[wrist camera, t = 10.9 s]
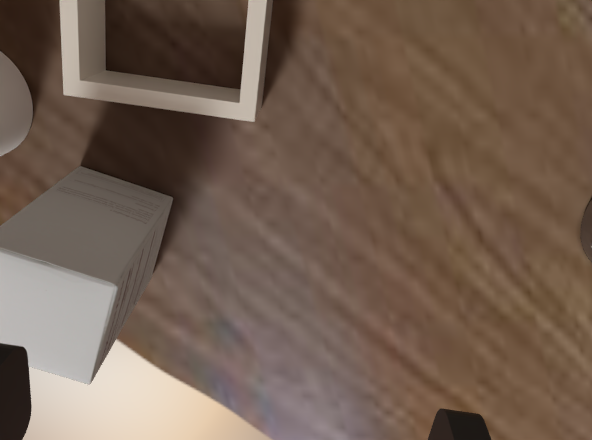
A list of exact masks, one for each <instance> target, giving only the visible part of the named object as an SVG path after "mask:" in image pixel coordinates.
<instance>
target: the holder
mask: <svg viewBox="0 0 592 440" xmlns="http://www.w3.org/2000/svg"><path fill="white" fill-rule="evenodd" d="M272 6H273V0H249V3H248V14H247V25H246V36H245V47H244V59H243V70H242V81H241V90H240V89H233V88H226V87H219V86H212V85H205V84H198V83H191V82H184V81H177V80H170V79H163V78H156V77H149V76H142V75H135V74H128V73H121V72H114V71H107V70H106V41H105V0H60V22H61V45H62V68H63V91H64V95H68V96H75V97H82V98H89V99H96V100H103V101H110V102H118V103H125V104H132V105H139V106H146V107H153V108H160V109H167V110H174V111H181V112H188V113H195V114H202V115H209V116H216V117H223V118H230V119H237V120H245V121H252V122H255V120H256V118H257V116H258V114H259V112H260V110H261V108H262V99H263V90H264V81H265V71H266V62H267V52H268V43H269V34H270V24H271V15H272Z"/></svg>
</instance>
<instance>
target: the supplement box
mask: <svg viewBox="0 0 592 440" xmlns="http://www.w3.org/2000/svg"><path fill="white" fill-rule="evenodd" d="M172 201H173V197H171V196H168V195H165V194H162V193H159V192H156V191H153V190H150V189H147V188H144V187H141V186H138V185H135V184H132V183H129V182H126V181H123V180H121V179H118V178H115V177H112V176H109V175H106V174H103V173H100V172H97V171H94V170H91V169H88V168H85V167H82V166H79V167H78V168H76V169H75V170H74V171H72V172H71V173H70V174H68V175H67V176H66V177H64V178H63V179H62V180H61V181H59V182H58V183H57V184H55V185H54V186H53V187H51V188H50V189H49V190H47V191H46V192H45V193H43V194H42V195H41V196H39V197H38V198H37V199H35V200H34V201H33V202H31V203H30V204H29V205H27V206H26V207H25V208H24V209H22V210H21V211H20V212H18V213H17V214H16V215H14V216H13V217H12V218H10V219H9V220H8V221H6V222H5V223H4V224H2V225H1V226H0V343H3V344H10V345H16V346H22V347H24V348H25V349H26V351H27V355H28V366H29V367H32V368H36V369H39V370H42V371H46V372H49V373H52V374H56V375H59V376H62V377H66V378H69V379H72V380H76V381H79V382H83V383H85V384H91V382H92V381H93V379H94V377H95V375H96V373H97V372H98V370H99V368H100V366H101V365H102V363H103V361H104V359H105V358H106V356H107V354H108V353H109V351H110V349H111V347H112V345H113V343H114V342H115V340H116V338H117V336H118V335H119V333H120V331H121V329H122V327H123V326H124V324H125V322H126V321H127V319H128V317H129V315H130V314H131V312H132V310H133V309H134V307H135V305H136V304H137V302H138V300H139V298H140V297H141V295H142V293H143V292H144V290H145V288H146V287H147V285H148V283H149V281H150V280H151V278H152V274H153V270H154V267H155V263H156V259H157V256H158V252H159V248H160V245H161V241H162V238H163V234H164V231H165V227H166V223H167V220H168V216H169V213H170V209H171V205H172Z"/></svg>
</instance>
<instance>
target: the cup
mask: <svg viewBox="0 0 592 440" xmlns="http://www.w3.org/2000/svg"><path fill="white" fill-rule="evenodd" d="M32 118H33V104H32V98H31V94H30V91H29V88H28V85H27V83H26V81H25V79H24V77H23V76H22V74H21V72H20V71H19V70H18V68H17V67H16V66H15V64H14V63H13V62H12V61H11V60H10V59H9V58H8V57H7V56H6V55H5V54H3V53H2V52H1V51H0V156H2V155H4V154H6V153H8V152H10V151H11V150H13V149H15V148H16V147H17V146H18V145H19V144H20V143H21V142H22V141H23V140H24V139H25V137H26V136H27V134H28V132H29V130H30V127H31V124H32Z"/></svg>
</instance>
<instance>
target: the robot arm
mask: <svg viewBox="0 0 592 440" xmlns="http://www.w3.org/2000/svg"><path fill="white" fill-rule="evenodd" d="M581 242H582V246H583V250H584V251H585V253H586V255H587V257H588V259H589V260H590V261H591V262H592V200H591V201H590V203H589V205H588V207H587V209H586V211H585V213H584V216H583V220H582V224H581ZM30 416H31V395H30V380H29V367H28V355H27V351H26V349H25V348H24V347H22V346H16V345H10V344H3V343H0V440H22V439H23V437H24V435H25V433H26V430H27V428H28V424H29V421H30ZM428 440H491V437H490V435H489V432H488V429H487V427H486V424H485V422H484V419H483V418H482V416H481V415H480V414H476V413H469V412H462V411H455V410H448V409H440V410H439V411H438V412H437V414H436V416H435V419H434V422H433V425H432V428H431V431H430V434H429V437H428Z"/></svg>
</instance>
